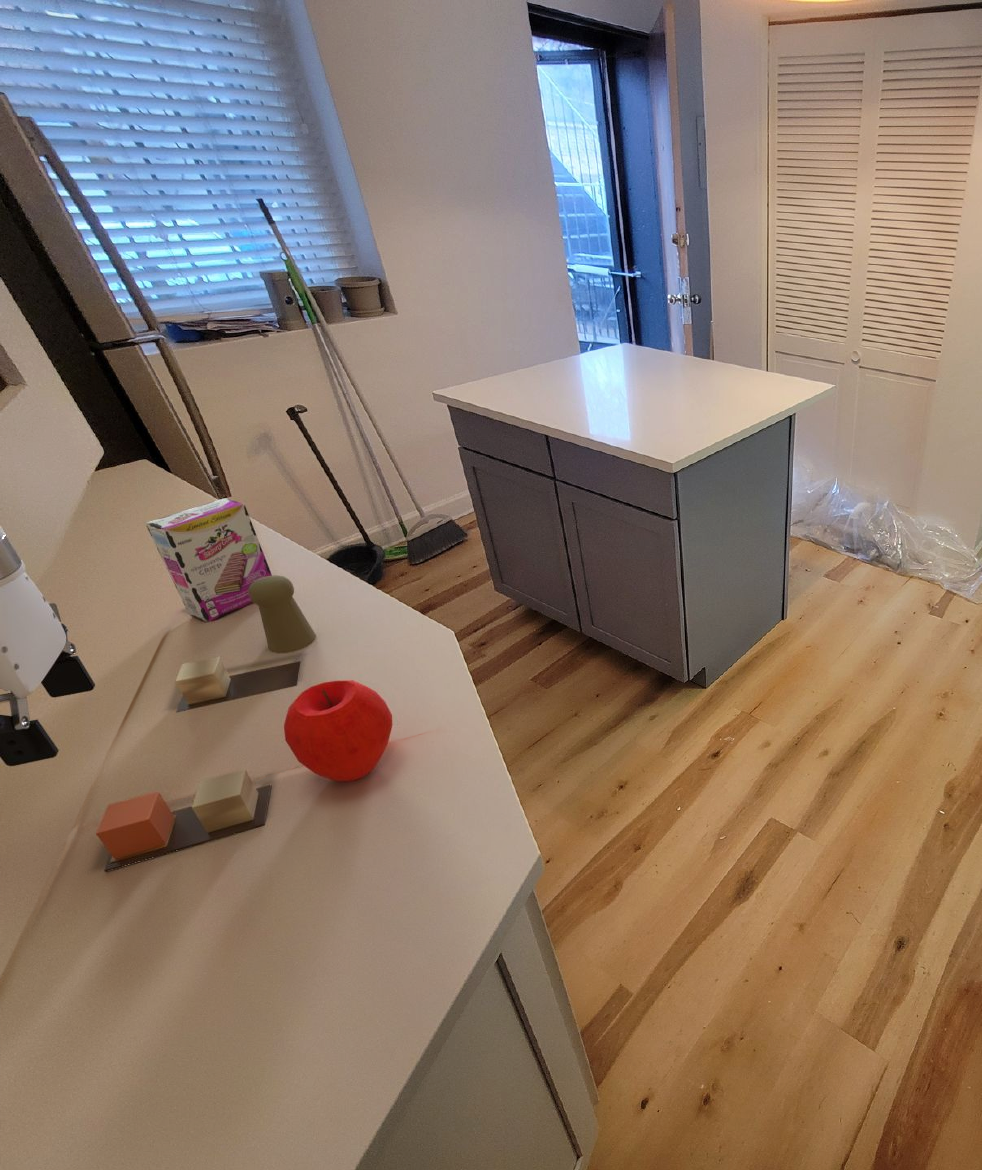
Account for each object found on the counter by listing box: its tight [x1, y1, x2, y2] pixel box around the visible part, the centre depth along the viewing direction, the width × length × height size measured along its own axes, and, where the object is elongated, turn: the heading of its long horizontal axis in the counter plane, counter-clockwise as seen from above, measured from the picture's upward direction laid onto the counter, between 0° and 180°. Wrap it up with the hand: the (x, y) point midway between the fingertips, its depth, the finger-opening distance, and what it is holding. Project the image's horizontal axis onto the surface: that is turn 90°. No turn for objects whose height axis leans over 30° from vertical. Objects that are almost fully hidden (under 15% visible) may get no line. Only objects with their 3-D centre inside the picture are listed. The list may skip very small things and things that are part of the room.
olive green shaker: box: [248, 574, 317, 654], centre depth 94 cm, size 6×6×11 cm
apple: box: [283, 679, 393, 782], centre depth 73 cm, size 10×10×12 cm
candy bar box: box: [144, 497, 273, 623], centre depth 100 cm, size 11×5×16 cm, turn 159°
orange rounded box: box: [95, 791, 175, 859], centre depth 66 cm, size 4×4×4 cm
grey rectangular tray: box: [174, 656, 302, 713], centre depth 87 cm, size 13×6×4 cm, turn 118°
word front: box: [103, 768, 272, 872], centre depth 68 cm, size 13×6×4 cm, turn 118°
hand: (55, 724), depth 60 cm, fingers open, 9 cm apart
